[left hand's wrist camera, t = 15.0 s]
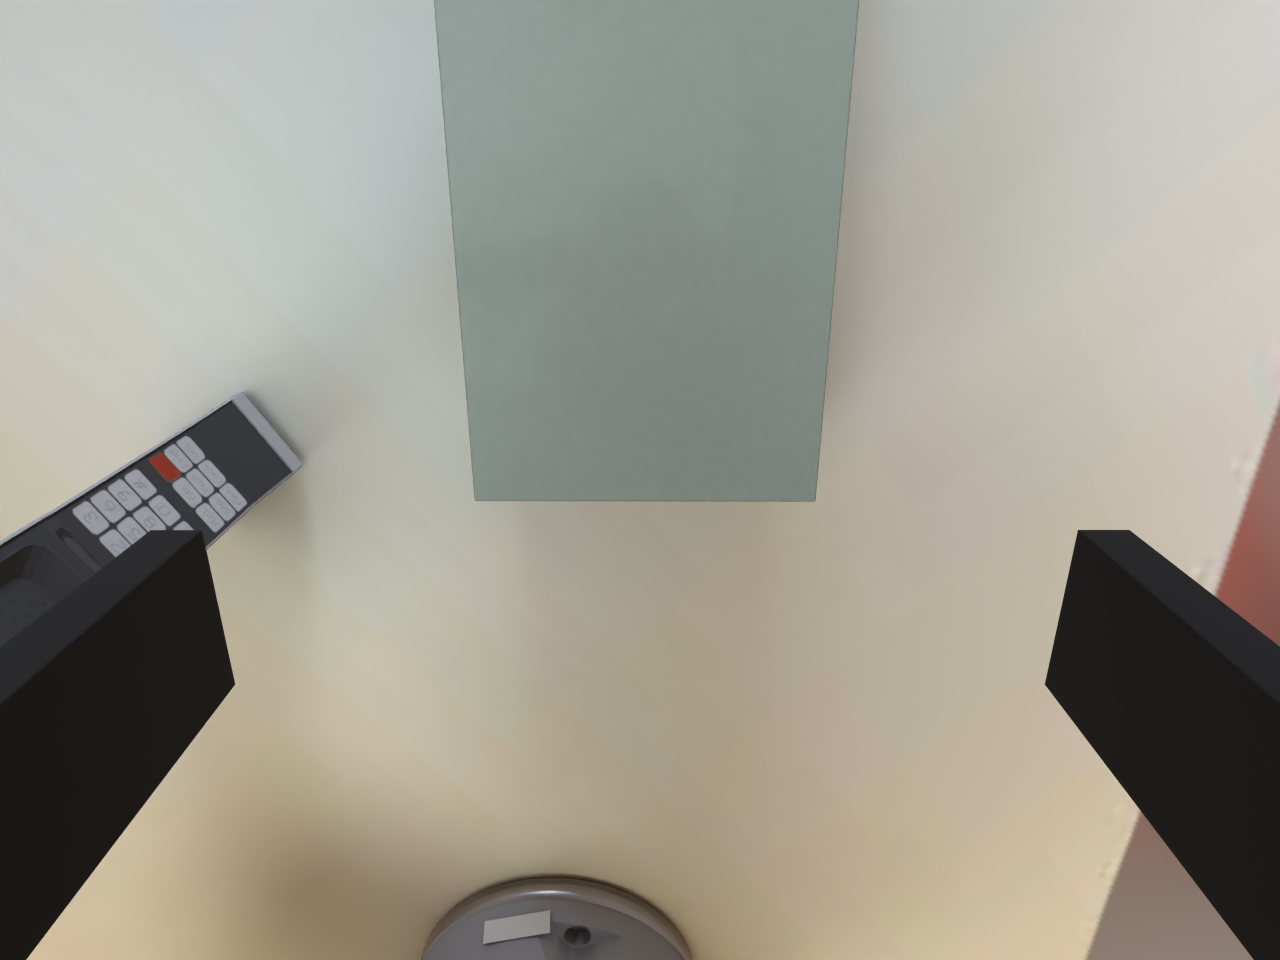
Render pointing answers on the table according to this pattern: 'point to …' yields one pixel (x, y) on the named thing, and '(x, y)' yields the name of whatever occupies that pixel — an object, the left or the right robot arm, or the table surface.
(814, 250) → the sage green rectangular box
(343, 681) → the table surface
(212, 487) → the vintage mobile phone
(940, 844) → the table surface
